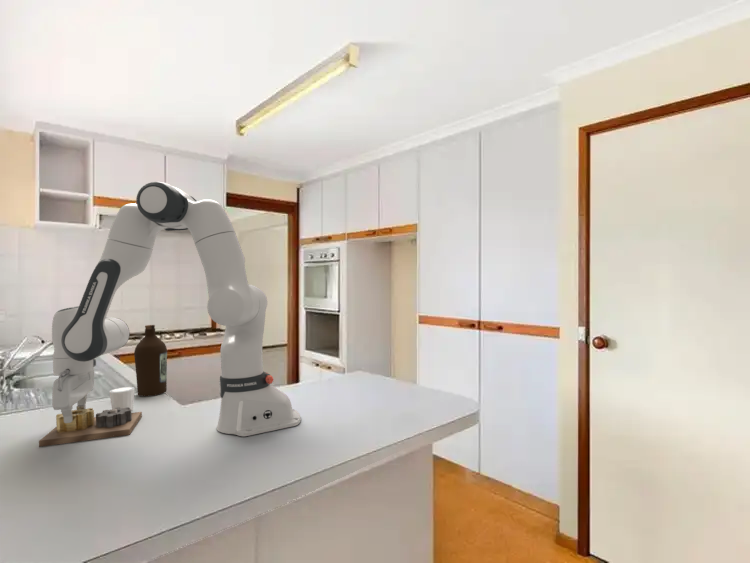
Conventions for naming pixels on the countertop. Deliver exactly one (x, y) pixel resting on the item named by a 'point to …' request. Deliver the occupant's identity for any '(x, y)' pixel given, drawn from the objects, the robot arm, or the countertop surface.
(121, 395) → the white short cylinder
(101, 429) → the gear board
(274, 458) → the countertop surface
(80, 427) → the brass gear
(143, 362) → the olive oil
